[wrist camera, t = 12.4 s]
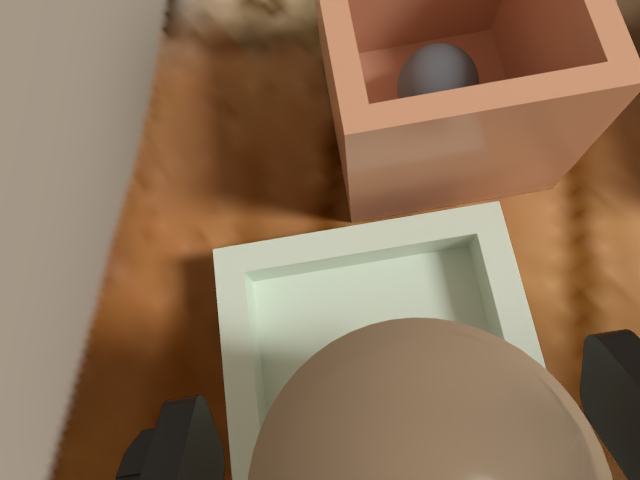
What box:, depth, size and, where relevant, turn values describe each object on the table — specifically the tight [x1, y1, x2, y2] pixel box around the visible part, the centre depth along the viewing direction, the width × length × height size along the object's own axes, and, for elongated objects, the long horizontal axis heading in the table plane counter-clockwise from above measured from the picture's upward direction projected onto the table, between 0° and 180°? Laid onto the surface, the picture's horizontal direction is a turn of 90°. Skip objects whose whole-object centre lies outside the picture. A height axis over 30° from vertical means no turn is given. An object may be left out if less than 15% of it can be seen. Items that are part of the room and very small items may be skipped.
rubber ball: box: [397, 43, 479, 99], centre depth 19 cm, size 3×3×3 cm
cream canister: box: [248, 317, 613, 480], centre depth 12 cm, size 5×5×10 cm
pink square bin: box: [315, 0, 640, 222], centre depth 18 cm, size 8×8×7 cm
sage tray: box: [213, 201, 546, 480], centre depth 16 cm, size 10×14×2 cm
